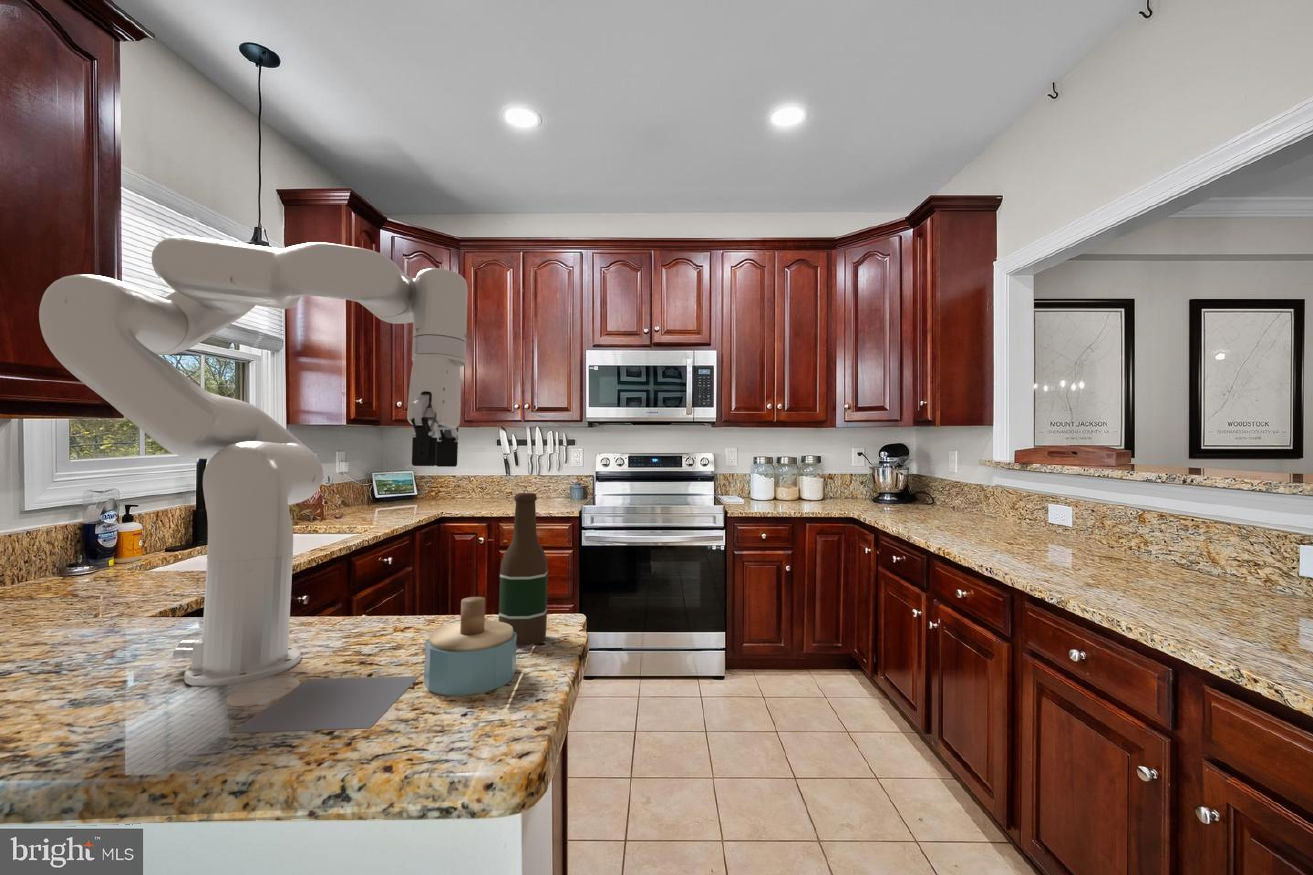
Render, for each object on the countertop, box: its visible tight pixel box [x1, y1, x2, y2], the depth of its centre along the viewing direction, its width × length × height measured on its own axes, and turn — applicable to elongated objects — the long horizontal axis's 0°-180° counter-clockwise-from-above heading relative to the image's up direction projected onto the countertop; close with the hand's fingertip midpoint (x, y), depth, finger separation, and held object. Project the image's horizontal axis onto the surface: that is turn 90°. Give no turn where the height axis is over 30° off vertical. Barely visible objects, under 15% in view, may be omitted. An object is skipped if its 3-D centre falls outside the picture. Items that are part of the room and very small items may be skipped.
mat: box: [229, 675, 420, 734], centre depth 61 cm, size 14×14×1 cm
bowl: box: [423, 631, 517, 697], centre depth 69 cm, size 11×11×6 cm
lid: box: [429, 596, 513, 651], centre depth 69 cm, size 10×10×5 cm
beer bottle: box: [498, 492, 549, 647], centre depth 86 cm, size 8×8×24 cm
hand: (435, 466), depth 78 cm, fingers open, 9 cm apart
